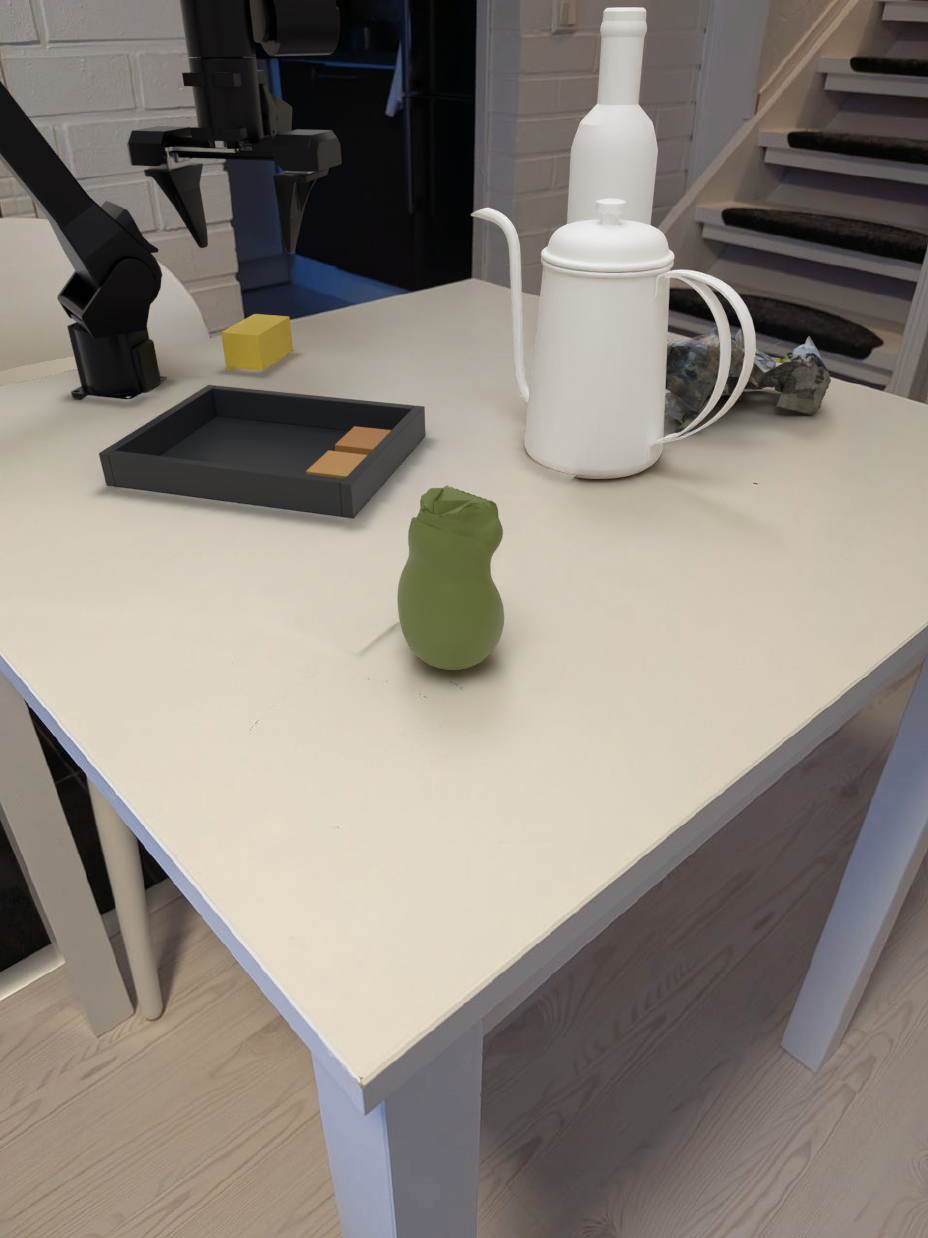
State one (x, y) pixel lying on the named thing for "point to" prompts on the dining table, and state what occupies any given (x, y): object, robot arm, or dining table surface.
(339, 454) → the block
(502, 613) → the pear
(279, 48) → the robot arm
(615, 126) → the bottle
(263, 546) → the dining table surface
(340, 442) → the block
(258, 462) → the pan
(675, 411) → the foil
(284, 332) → the sponge
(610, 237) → the coffeepot
